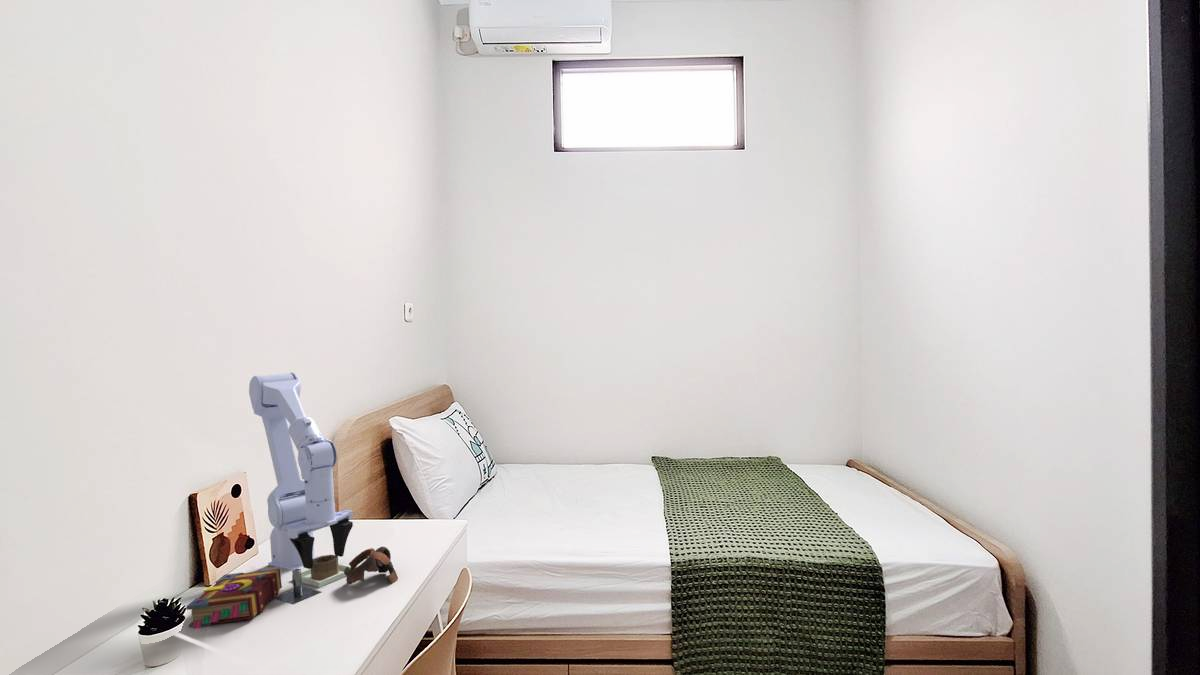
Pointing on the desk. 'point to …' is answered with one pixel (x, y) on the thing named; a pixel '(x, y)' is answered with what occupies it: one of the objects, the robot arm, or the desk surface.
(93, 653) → the desk surface
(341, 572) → the tray
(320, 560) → the collar
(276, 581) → the decorative book
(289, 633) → the desk surface
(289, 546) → the robot arm
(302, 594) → the grey peg stand
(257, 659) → the desk surface
